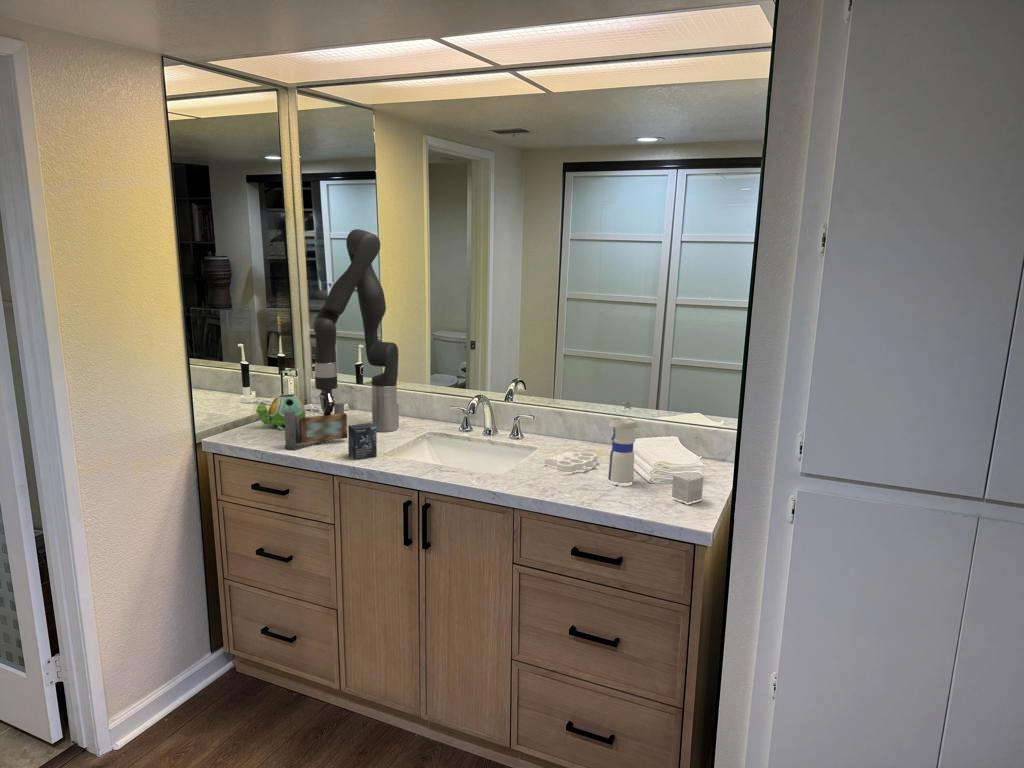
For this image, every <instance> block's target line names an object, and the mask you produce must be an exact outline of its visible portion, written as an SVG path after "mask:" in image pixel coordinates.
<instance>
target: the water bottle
mask: <svg viewBox="0 0 1024 768" xmlns="http://www.w3.org/2000/svg"><path fill="white" fill-rule="evenodd" d="M622 404H623V405H624V410H625V409H629V410H632V408H631V406H632V405H634V403H633V402H631V401H630V400H629V398H628V399H627V400H626V401H623V402H622ZM609 427H610V428H613V435H612V437H611V438H610V439H611V441H612V442H611V443H612V445H611V451H610V452H609V453H610V455H609V466H608V477H607V480H608V479H609V480H610V481H613V482H618V483H630V482H633V480H634V478H635V475H634V471H635V469H634V467H635V466H634V465H635V453H634V443H635V441H636V440H635V438H634V431H635V430H634V429H636V428H638V424H637V420H635V418H631V417H628V418H626V420H625V422H619V420H618V418H616V417H612V418H611V419H610V422H609V425H608V428H609Z"/></svg>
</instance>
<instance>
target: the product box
mask: <svg viewBox="0 0 1024 768" xmlns="http://www.w3.org/2000/svg"><path fill="white" fill-rule="evenodd" d="M703 486H704V477H703V476H700V475H698V474H695V473H692V472H689V471H684V472H680V473H675V474H673V475H672V487H671V498H672V497H674V498H677V499H679V500H682V501H685V502H687V503H689V502H693V501H697V500H700V499H702V500H703Z"/></svg>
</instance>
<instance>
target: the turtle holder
mask: <svg viewBox="0 0 1024 768" xmlns="http://www.w3.org/2000/svg"><path fill="white" fill-rule="evenodd" d="M255 410H256V414H258V417H259V419H260V421H261V423H262V424H264V425H272V426H276V428H277V430H278V429H280V430H279V431H285V417H284V412H285V411H289V410H291V411H295V415H300V418H302V417H306V407H305V405H304V403H303V401H302V400H301V399H300V398H299V397H297V395H296V394H294V393H293V394H292V393H286V394H279V395H276V397H275V398H274V399H273V400H272V401H271V403H270V406H269V409H268V407H267V406H266V405H265V404H258V405H257V406H256V409H255ZM267 412H268V414H267ZM283 426H284V427H283Z"/></svg>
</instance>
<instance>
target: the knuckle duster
mask: <svg viewBox="0 0 1024 768" xmlns="http://www.w3.org/2000/svg"><path fill="white" fill-rule="evenodd" d="M543 462H544V465H545V464H548V465H551V466H557V469H556V471H557V470H558V471H562V472H573V471H576V470H587V467H592V466H595V467H597V466H598V464H597V465H596V464H595V462H597V463H598V455H597V454H596V453H594V452H590V451H589V452H587V451H585V452H575V451H566V452H564V453H560V454H557V455H554V456H552V457H548V458H546V459H545V460H544V461H543ZM587 471H588V470H587Z"/></svg>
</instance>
